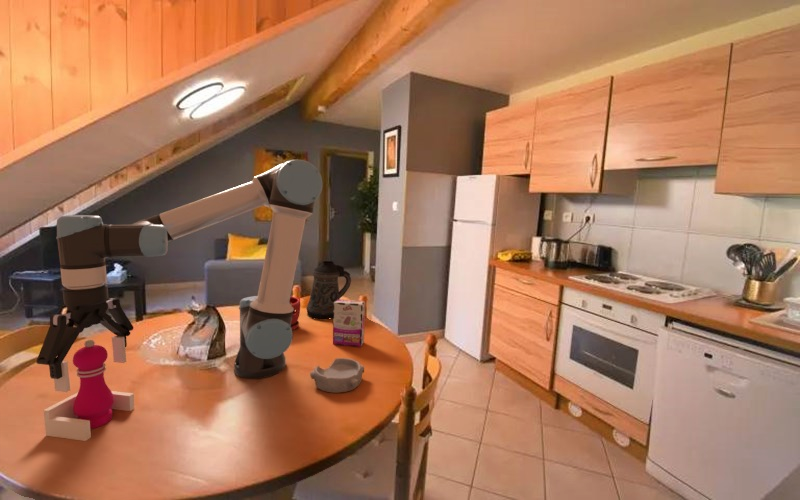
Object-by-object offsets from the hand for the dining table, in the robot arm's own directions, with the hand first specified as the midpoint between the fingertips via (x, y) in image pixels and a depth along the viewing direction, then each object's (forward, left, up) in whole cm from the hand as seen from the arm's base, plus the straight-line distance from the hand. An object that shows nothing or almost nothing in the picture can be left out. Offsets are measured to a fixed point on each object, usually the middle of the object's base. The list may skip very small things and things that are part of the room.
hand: (93, 375), depth 82 cm
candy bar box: (-45, -58, -12) cm, 74 cm away
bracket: (+1, 0, -11) cm, 11 cm away
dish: (-50, -29, -12) cm, 59 cm away
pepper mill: (0, 0, -12) cm, 12 cm away
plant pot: (-15, -67, -12) cm, 69 cm away
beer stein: (-26, -90, -12) cm, 94 cm away
